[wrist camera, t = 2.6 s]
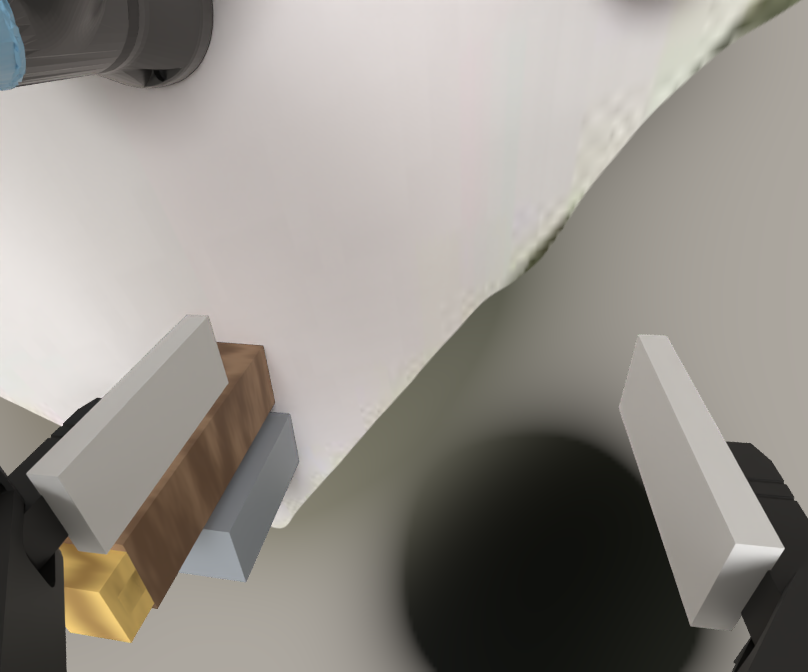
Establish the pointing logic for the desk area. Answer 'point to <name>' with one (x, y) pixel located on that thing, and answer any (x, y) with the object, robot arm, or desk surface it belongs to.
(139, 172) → the desk surface
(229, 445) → the walnut post
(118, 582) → the handle bar
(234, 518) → the grey stand
